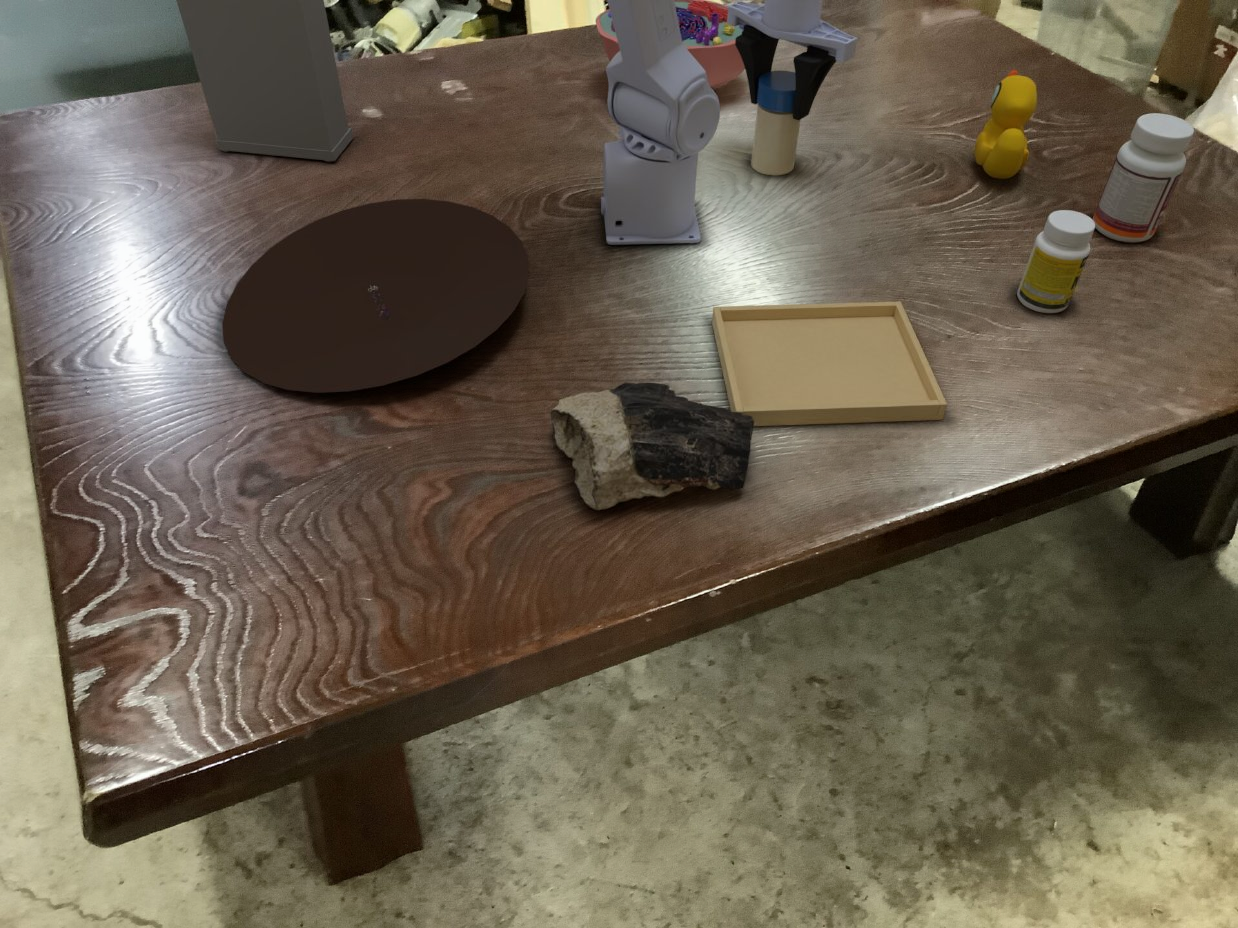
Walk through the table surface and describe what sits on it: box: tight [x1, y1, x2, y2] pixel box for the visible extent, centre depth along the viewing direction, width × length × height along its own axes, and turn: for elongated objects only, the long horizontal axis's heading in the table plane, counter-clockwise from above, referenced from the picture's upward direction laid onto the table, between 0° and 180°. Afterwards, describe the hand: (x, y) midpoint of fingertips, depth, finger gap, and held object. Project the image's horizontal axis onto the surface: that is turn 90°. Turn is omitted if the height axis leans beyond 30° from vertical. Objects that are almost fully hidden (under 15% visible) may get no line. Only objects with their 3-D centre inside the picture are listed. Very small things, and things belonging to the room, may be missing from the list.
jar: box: [750, 104, 802, 176], centre depth 107 cm, size 5×5×9 cm
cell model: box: [595, 0, 746, 91], centre depth 120 cm, size 17×20×11 cm
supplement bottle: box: [1016, 209, 1096, 314], centre depth 89 cm, size 5×5×8 cm
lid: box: [757, 70, 796, 112], centre depth 104 cm, size 5×5×2 cm
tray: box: [711, 301, 948, 427], centre depth 84 cm, size 17×14×2 cm
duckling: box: [974, 69, 1039, 180], centre depth 107 cm, size 11×5×10 cm, turn 168°
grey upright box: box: [175, 0, 355, 163], centre depth 104 cm, size 14×6×25 cm, turn 80°
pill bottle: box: [1092, 112, 1195, 243], centre depth 97 cm, size 6×6×11 cm
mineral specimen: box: [550, 381, 755, 511], centre depth 75 cm, size 13×7×15 cm
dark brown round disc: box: [221, 198, 530, 394], centre depth 89 cm, size 28×28×4 cm
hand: (779, 108), depth 106 cm, fingers closed on lid, 5 cm apart
